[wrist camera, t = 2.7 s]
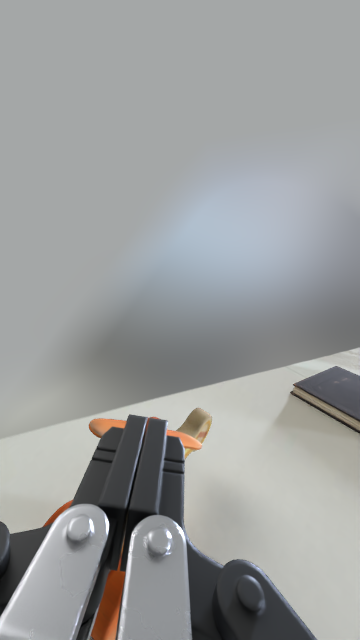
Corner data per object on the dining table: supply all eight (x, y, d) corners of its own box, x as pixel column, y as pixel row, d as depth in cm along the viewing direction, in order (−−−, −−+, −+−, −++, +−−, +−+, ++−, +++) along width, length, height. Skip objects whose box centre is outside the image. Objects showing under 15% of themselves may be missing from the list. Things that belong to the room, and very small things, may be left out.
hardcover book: (290, 393, 56) (293, 383, 55) (333, 373, 70) (336, 365, 70) (376, 443, 44) (381, 431, 44) (406, 407, 59) (410, 398, 58)
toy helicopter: (15, 586, 20) (12, 439, 16) (170, 439, 37) (187, 352, 33) (85, 692, 16) (105, 531, 12) (222, 472, 33) (249, 377, 29)
